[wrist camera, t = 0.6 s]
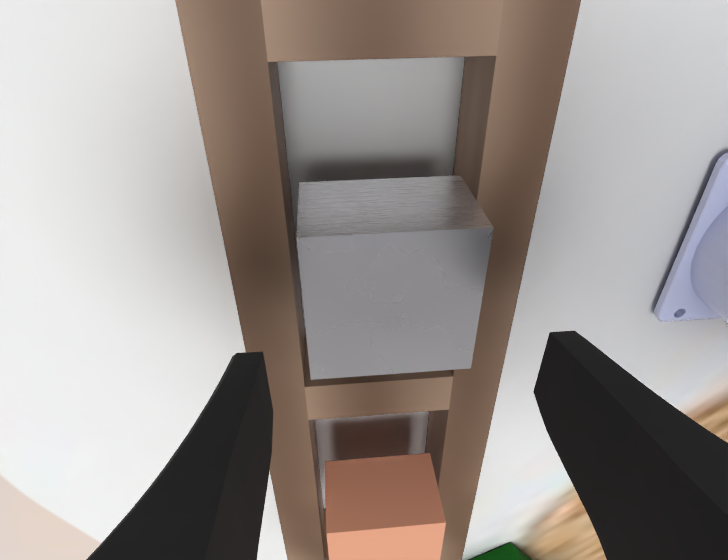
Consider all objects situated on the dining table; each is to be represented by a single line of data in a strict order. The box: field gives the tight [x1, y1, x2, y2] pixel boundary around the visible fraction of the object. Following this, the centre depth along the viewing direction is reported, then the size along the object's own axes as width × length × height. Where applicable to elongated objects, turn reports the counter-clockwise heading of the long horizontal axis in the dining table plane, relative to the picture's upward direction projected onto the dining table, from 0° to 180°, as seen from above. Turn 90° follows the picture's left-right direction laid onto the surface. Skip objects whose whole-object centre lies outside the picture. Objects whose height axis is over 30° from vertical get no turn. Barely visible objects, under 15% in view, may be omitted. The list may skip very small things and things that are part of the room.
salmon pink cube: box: [325, 453, 446, 560], centre depth 23 cm, size 5×5×3 cm
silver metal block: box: [296, 175, 494, 380], centre depth 15 cm, size 5×5×3 cm
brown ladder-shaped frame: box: [175, 0, 581, 560], centre depth 21 cm, size 10×30×3 cm, turn 1°
